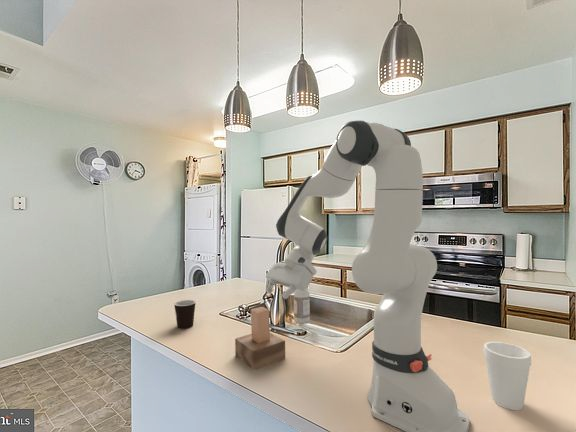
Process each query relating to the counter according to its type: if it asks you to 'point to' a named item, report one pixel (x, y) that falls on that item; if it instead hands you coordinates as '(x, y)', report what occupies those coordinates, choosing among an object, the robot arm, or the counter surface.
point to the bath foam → (301, 306)
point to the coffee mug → (185, 313)
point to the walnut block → (259, 350)
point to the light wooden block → (260, 324)
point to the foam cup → (507, 373)
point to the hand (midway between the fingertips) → (275, 294)
